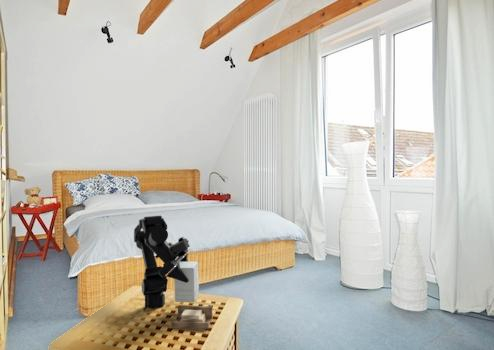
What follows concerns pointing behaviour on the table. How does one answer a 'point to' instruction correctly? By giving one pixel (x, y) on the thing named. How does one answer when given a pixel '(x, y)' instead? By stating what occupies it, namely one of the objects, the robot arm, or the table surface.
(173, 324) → the tray
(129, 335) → the table surface
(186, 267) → the supplement box
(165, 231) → the robot arm
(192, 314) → the offcut stack
